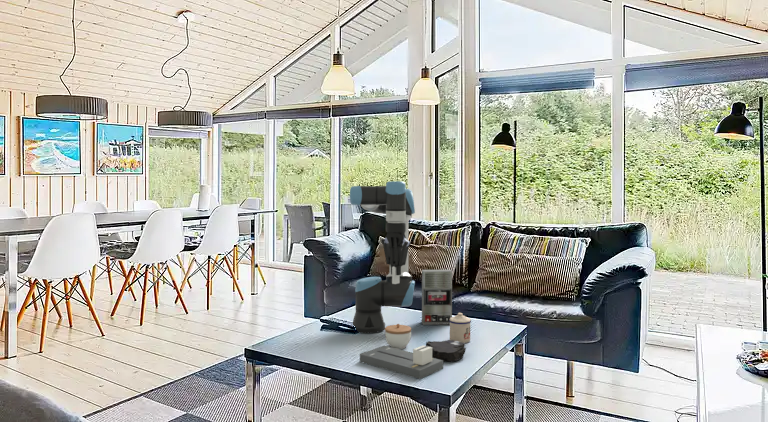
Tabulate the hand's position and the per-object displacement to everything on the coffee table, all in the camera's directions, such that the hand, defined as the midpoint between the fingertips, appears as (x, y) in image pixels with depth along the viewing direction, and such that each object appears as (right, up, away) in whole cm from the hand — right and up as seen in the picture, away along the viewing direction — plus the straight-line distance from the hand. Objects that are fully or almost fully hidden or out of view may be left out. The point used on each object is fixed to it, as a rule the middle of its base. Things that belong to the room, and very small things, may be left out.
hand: (395, 283), depth 221 cm
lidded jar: (+1, -28, +14) cm, 31 cm away
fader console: (+2, -29, -9) cm, 30 cm away
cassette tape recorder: (+20, -25, +50) cm, 60 cm away
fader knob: (+9, -26, -15) cm, 32 cm away
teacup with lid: (+28, -27, +24) cm, 46 cm away
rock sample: (+19, -29, +3) cm, 35 cm away
